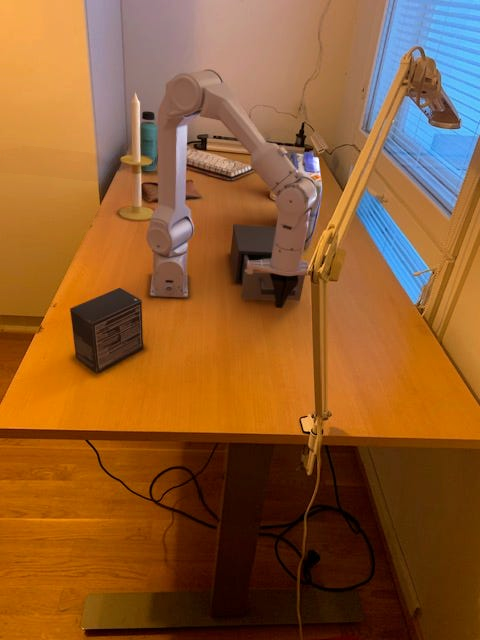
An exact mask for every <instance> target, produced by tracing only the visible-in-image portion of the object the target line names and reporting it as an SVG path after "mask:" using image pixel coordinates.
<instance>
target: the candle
mask: <svg viewBox="0 0 480 640" xmlns="http://www.w3.org/2000/svg"><path fill="white" fill-rule="evenodd" d="M130 105H131V107H130V109H131V112H130V113H131V115H130V116H131V154H127V155H123V156H121V157H120V159H119V161H120V162H121V163H122V164H124V165H127V166H131V194H132V195H131V198H132V201H131V202H132V203H131V205H132V206H126V207H122V208H121V209H120V210H119V212H118V215H119V216H120V217H122V218H124V219H125V220H130V221H147V220H150V217H151V216H152V214H153V212H154V211H155V210H153V209H151V208H150V207H146V206H142V196H141V184H142V170H141V166H145V165H149V164H151V163H152V159H151V158H149V157H146V156H141V155H140V124H141V101H140V100H139V99H138V95H137V93H136V90H134V93H133V98H132V100H131V101H130Z"/></svg>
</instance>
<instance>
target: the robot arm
mask: <svg viewBox="0 0 480 640" xmlns="http://www.w3.org/2000/svg"><path fill="white" fill-rule="evenodd" d="M198 116H199V117H200V118H206V119H211V120H216V121H219V122H221V123H222V124H223V125H224V126H225V128H226V129H227V130H228V131H229V132H230V133H231V135H233V137H234V138H235V139H236V140H237V141H238V142H239V143H240V144H241V146H242V147H243V148H244V149H245V150H246V151H247V152H248V153H249V154H250V167H251V168H252V169H254V170H255V171H254V172H255V173H256V174H257V176H258V177H259V178H260V179H261V180H262V182H263V183H264V184H265V185H266V186H267V188H268V189H269V190H270V192H271V191H272V193H273V194H274V195H275V196H276V197H275V200H274V202H275V207H276V209H277V211H278V214H277V219H276V226H275V227H276V231H275V238H274V244H273V251H272V257H271V259H264V260H255V261H247V274H253V273H269V274H270V277H271V281H272V284H273V287H274V294H275V300H274V306H275V308H276V309H283V307H284V305H285V303H286V301H287V300H286V299H287V297H288V295H289V294H290V292H291V291H292V290H293V289H294V288H295V287H296V286H297V284H298V281H299V280H298V275H305V277H306V276H308V275H307V269H308V266H309V263H310V262H306V261H302V258H303V254H304V250H305V249H304V244H305V239H306V234H307V229H308V221H309V215H310V209H308V208H310V207H311V206H312V205H313V204H314V202H315V201H316V198H317V188H316V185H315V184H314V182H313V180H312V179H311V178H309V177H307V176H303V173H302V172H301V171H299V172H298V170H297V169H296V168H295V167H294V165H293V164H292V163H291V162H290V160H289V159H288V158H287V156H286V155H285V154H286V153H287V149H286V148H285V147H284V146H279V145H278V144H277V143H274V142H268V141H266V139H265V138H264V137H263V135H262V134H261V133H260V131H259V129H258V128H257V126H256V125H255V123H254V122H253V121H252V119H251V118H250V117H249V115H248V114H247V112H246V111H245V109H244V108H243V107H242V105H241V104H240V102H239V101H238V99H237V98H236V96H235V94H234V92H233V89H232V86H231V85H230V84H229V83H227V82H226V81H225V80H224V78H223V77H222V75H221V74H220V73H219V72H218V71H216V70H214V69H211V68H207V69H203V70H199V71H192V72H181V73H178V74H176V75H175V76H174V77H172V78H170V79H169V81H167V82H166V83H165V93H164V95H163V98H162V100H161V102H160V105H159V107H158V109H157V127H158V129H157V143H158V144H157V148H158V160H157V182H158V201H157V206H156V207H155V209H154V210H153V211H154V212H153V214H152V216H151V217H150V219H149V226H148V228H147V230H146V234H145V238H146V242H147V245H148V246H149V248H150V249H151V251H152V260H153V261H152V273H151V280H150V281H151V282H150V290H149V296H150V297H161V298H162V297H163V298H188V297H189V287H188V285H189V284H188V283H189V282H188V279H189V277H188V274H187V269H188V268H187V267H188V265H187V264H188V246H189V240H190V239H192V238H193V236H194V234H195V225H194V222H193V220H192V209H190V207H189V206H187V205H186V199H185V196H186V180H187V169H186V156H187V145H188V126H189V125H188V124H189V123H190V122H192V121H193V120H194V119H195V118H197V117H198ZM308 277H309V276H308Z"/></svg>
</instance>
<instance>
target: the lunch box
mask: <svg viewBox="0 0 480 640" xmlns="http://www.w3.org/2000/svg"><path fill="white" fill-rule="evenodd" d="M298 153H299V152H296V154H294V153H293V154H292V155H291V157H290V162H291V163H292V164H293V165H294V167H295V168H296V169H297V170H298V172H299V171H301V172H302V173H303V176H307V177H309V178H311V179H312V180H313V182H314V184H315V185H316V188H317V198H316V201H315V202H314V204H313V205H312V206H311V207H310V208H308V209H310V215H309V221H308V229H307V234H306V239H305V244H304V249H303V250H307V249H308V248H309V247H310V244H311V242H312V239H313V236H314V233H315V229H316V227H317V223H318V218H319V214H320V208H321V202H322V201H321V200H322V194H323V193H322V192H323V183H322V182H323V181H322V176H321V168H320V161H319V160H320V159H319V157H317V156H314V151H304V152H303V153H300V154H298ZM302 154H303V155H302Z"/></svg>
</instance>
